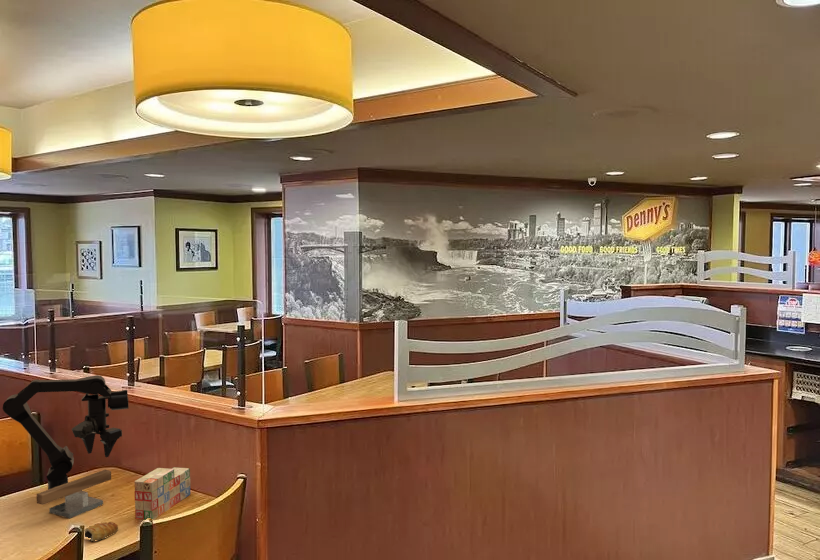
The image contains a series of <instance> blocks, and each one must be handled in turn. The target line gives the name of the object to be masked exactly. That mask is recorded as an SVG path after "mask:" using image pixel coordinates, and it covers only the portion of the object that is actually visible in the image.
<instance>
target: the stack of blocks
mask: <svg viewBox="0 0 820 560" xmlns="http://www.w3.org/2000/svg"><path fill="white" fill-rule="evenodd" d="M190 471H191V470H190V468H187V467H172V468H165V467H164V468H163V467H157V468H155V469H154V470H152V471H150V472H148V473H147V474H145V475H143V476H141V477H140V478H138V479H136V480H134V503H135V504H134V506H135V507H134V508H135V509H134V511H135V512H134V513H135V515H134V517H135V519H138V520H146V519H147V518H151V519H153V520H155V519H157V518H158V517H159V516H161V515H163V514H164V513H165V512H167V511H169V510H170V509H171V508H173V507H174V506H176V505H177V504H178V503H180V502H182V500H184V499H186V498H188V497H189V496H190V495H191V494H192V493H191V492H192V491H191V472H190Z"/></svg>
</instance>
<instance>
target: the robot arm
mask: <svg viewBox="0 0 820 560" xmlns="http://www.w3.org/2000/svg"><path fill="white" fill-rule="evenodd" d="M59 392H62V393H65V392H77V393H83V394H85V395H84V396H83V397H81V402H87V414H86V415H85V417H84V420H83V421H82V422H80V423H78V424H77V425H75V426H74V427H72V428H71V432H72V433H73V436H74V438H79V439H81V440H82V442H83V444H84V446H85V449H86V451H87V454H92V452H93V450H94V448H93V447H94V443H95V439H96V435H99V437H100V440H99V441H100V442H101V443H102V444H103V449H104V451H103V452H104V457H105V458H109V456H110V455H111V452H112V450H113V449H114V446H115V445H116V444H117V441H118V439H120V438H122V437H123V430H122V429H121V428H118V427H110V424H107V417H110V413H109V412H108V413H107V408H108V409H110V410H111V411H120V410H127V409H129V396H128V395H129V393H128V389H122V390H115V391H114V390H113V391H112V390H111V388H110V387H109V385H108V384H107V383H106V379H105V378H104V377H103V376H102V375H99V374H98V375H97V374H96V375H91V376H85V377H82V378H77V379H75V378H74V379H71V378H70V379H34V380H32V381H31V382H30V383H29V384H27V386H25V387H24V388H22V390H20V391H19V392H18V393H16V394H12V395H10V396H8V397H7V399H6V400H4V403H3V404H2V411H3V413H5V414H6V415H7V416H8V417H10V418H11V419H13V420H14V421H16V422H17V423H19V424H20V425H21V426H22V427H23V428H24V430H26V432H27V433H28V434H29V436H30V437H31V438H32V439H33V440H34V442H36V444H38V446H39V447H40V448H41V450H42V451H43V452H44V453H45V455H46V456H47V459H48V461H49V463H50V465H51V466H50V467H49V468H48V472H47V473H46V479H47V490H49V489H52V488H54V487H57V486H60V485H63V484H66V483H68V482H69V477H68V474H69V472H71V470H72V468H73V465H74V461H75V458H74V453H73V452H72V451H71V450H70V449H69V447H68V446H67V445H65V446H64V447H62V446H60V445H58V443H56V441H55V440H54V439H53V438H52V436H50V434H49V433H48V432H47V430H46V429H45V428H44V427H43V426H42V425H41V424H40V422H39V421H38V420H37V419H36V417H35V416H34V415H33V413H32V411H31V409H30V406H29V404H28V402H29V400H30V399H32V398H33V397H34V396H35V395H36V394H37V393H59ZM106 400H107V401H106ZM106 402H107V403H106Z"/></svg>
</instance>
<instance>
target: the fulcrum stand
mask: <svg viewBox="0 0 820 560" xmlns="http://www.w3.org/2000/svg"><path fill="white" fill-rule="evenodd" d="M102 504H103V505H104V500H103V499H100V498H96V497H93V496H89V493H88V491H85V490H82V491H79V492H76V493H74V494H71V495H68V496H66V497H64V502H61V503H58V504H57V505H54V506H52V507H49V511H48V512H49V514H52V515H55V516H59V517H61V518H62V517H63V518H66V519H72V518H75V517H77V516H79V515H82V514H84V513H86V511H87V512H89V511H91V510H93V509H96V508H99V507H101V506H103V505H102ZM100 505H101V506H100ZM98 506H99V507H98Z"/></svg>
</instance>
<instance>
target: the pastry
mask: <svg viewBox="0 0 820 560" xmlns="http://www.w3.org/2000/svg"><path fill="white" fill-rule="evenodd" d="M118 529H119V526H118V524H117V522H112V521H109V522H101V523H100V522H98V523H94V524H93V525H89V526H88V527H85V529H84V531H85V537H88V538H91V539H90V540H91V541H90V542H92V541H94V542H96V541H95V540H100V539H102V540H103V539H106V538H105V537H107V536H109V535H111V534H112V535H114V534H115V533H117V532H118V531H119V530H118ZM113 533H114V534H113ZM112 535H111V536H112ZM109 537H110V536H109ZM107 538H108V537H107ZM100 541H101V540H100Z"/></svg>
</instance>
